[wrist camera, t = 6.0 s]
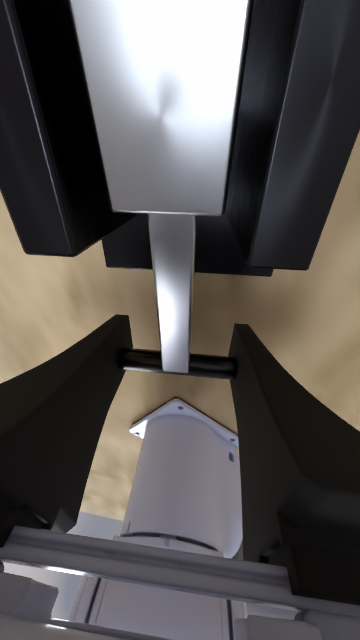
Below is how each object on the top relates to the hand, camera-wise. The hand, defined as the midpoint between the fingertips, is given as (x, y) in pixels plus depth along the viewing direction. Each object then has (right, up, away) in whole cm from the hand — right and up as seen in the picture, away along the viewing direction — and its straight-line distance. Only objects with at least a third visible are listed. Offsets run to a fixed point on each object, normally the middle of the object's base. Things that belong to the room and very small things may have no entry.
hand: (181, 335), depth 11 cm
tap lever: (0, +3, -3) cm, 4 cm away
